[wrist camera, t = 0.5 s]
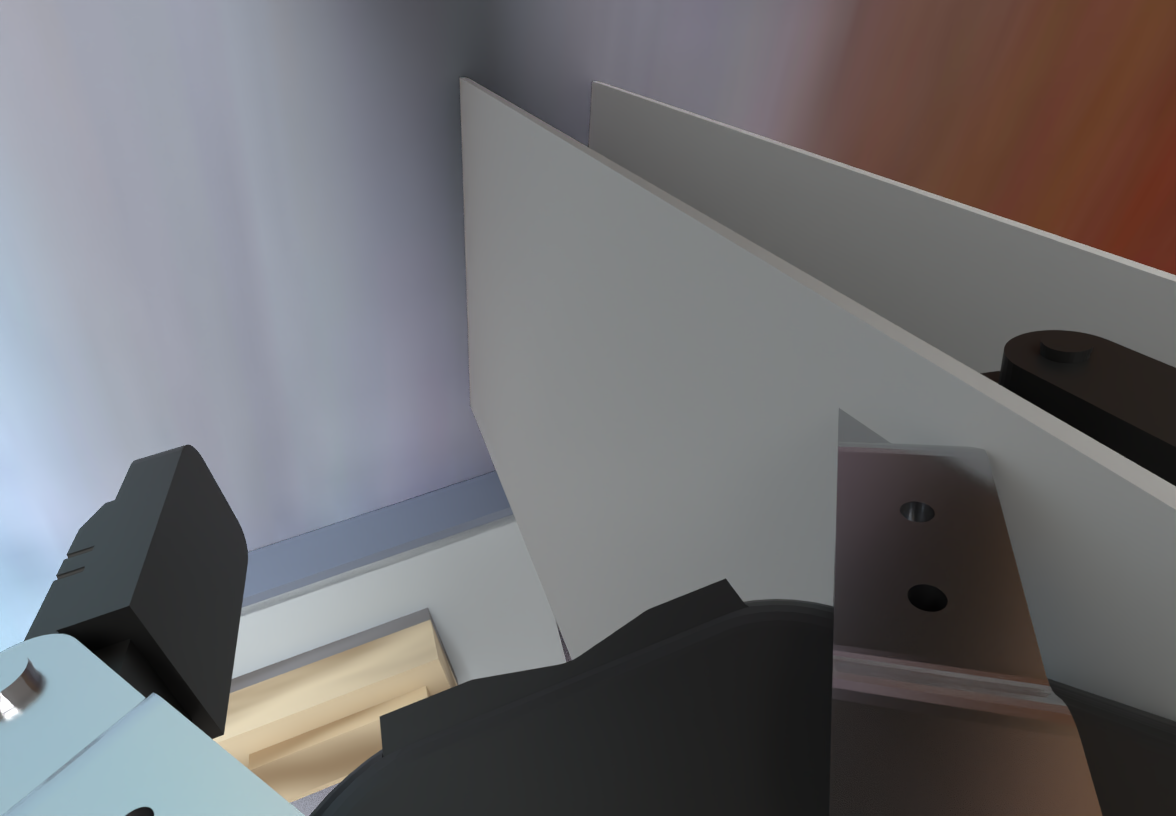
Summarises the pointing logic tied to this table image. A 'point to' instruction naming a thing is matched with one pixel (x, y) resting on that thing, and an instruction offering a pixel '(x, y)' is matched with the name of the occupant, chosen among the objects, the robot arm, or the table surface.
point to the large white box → (406, 584)
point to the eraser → (332, 703)
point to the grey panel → (786, 374)
